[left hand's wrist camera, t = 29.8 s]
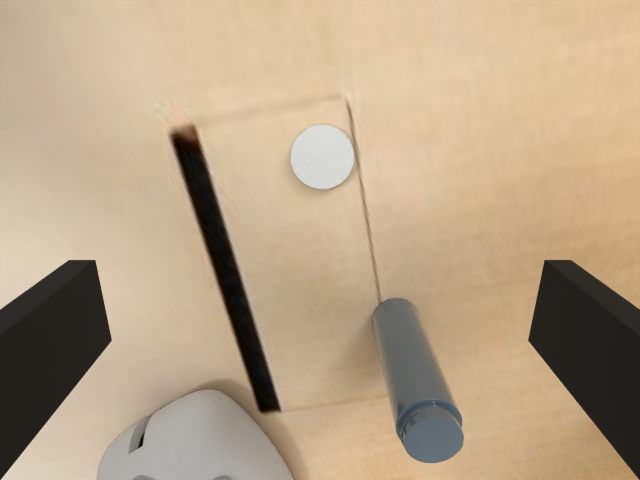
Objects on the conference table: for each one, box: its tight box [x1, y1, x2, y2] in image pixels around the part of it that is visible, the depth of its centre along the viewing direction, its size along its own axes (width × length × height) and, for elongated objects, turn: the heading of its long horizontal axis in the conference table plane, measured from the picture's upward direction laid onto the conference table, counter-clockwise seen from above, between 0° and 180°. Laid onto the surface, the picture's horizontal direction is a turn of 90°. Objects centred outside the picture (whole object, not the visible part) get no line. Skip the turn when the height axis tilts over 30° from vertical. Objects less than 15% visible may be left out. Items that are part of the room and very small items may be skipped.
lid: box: [290, 124, 354, 189], centre depth 37 cm, size 6×6×2 cm
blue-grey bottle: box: [372, 298, 464, 463], centre depth 36 cm, size 5×5×16 cm
